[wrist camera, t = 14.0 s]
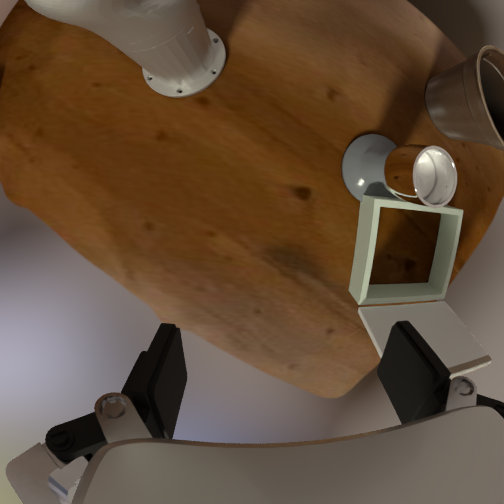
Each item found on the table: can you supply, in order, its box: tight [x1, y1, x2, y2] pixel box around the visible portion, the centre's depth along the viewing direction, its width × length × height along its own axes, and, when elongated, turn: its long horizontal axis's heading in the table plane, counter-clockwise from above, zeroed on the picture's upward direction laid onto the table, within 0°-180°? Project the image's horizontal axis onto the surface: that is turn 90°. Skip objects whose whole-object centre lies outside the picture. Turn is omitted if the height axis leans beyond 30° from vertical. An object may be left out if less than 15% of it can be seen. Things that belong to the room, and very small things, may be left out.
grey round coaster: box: [341, 134, 397, 202], centre depth 37 cm, size 11×11×1 cm
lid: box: [358, 301, 492, 379], centre depth 32 cm, size 16×18×1 cm
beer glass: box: [360, 144, 457, 208], centre depth 29 cm, size 7×7×15 cm
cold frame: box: [349, 195, 463, 305], centre depth 39 cm, size 16×18×5 cm
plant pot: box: [425, 46, 504, 150], centre depth 25 cm, size 16×16×16 cm
